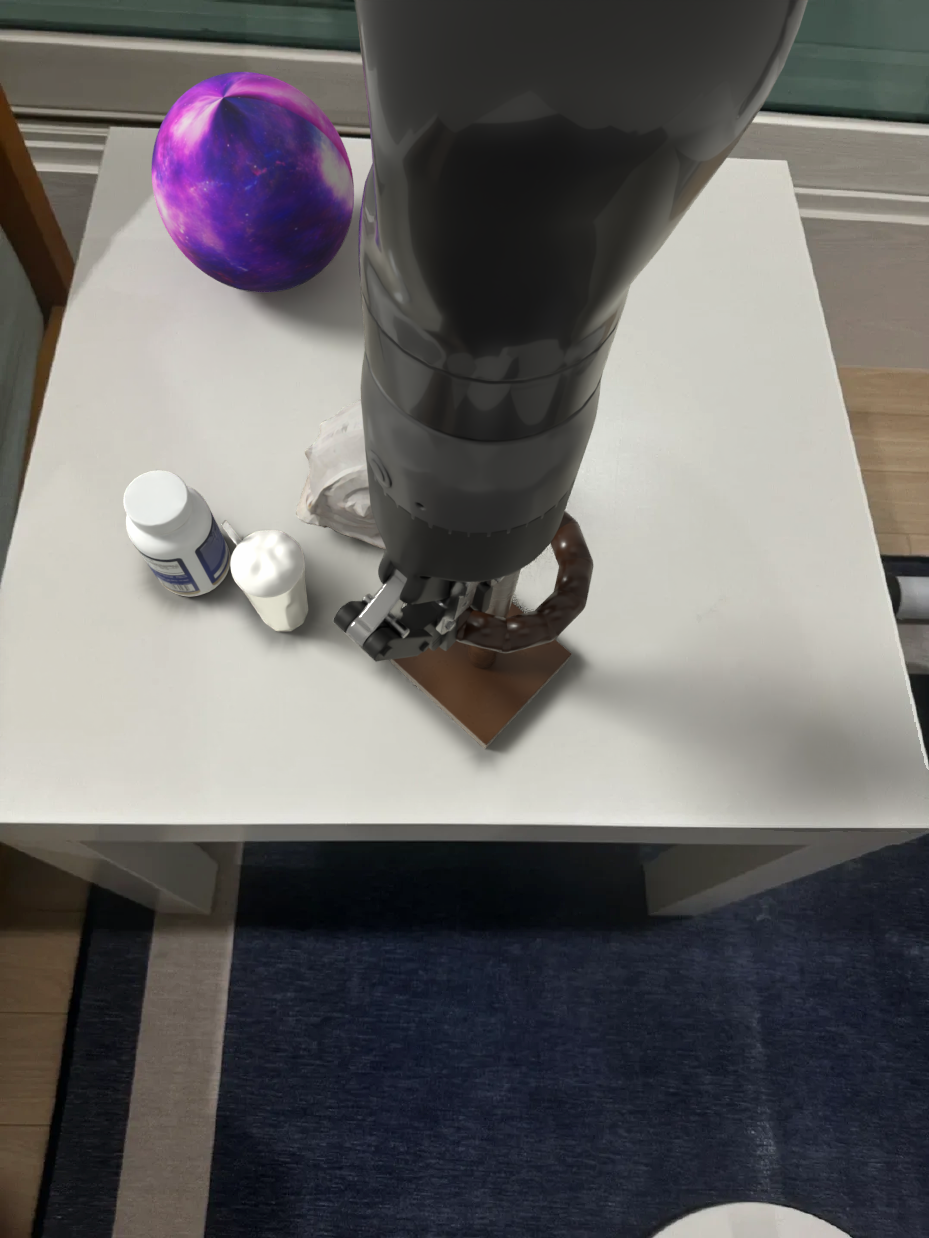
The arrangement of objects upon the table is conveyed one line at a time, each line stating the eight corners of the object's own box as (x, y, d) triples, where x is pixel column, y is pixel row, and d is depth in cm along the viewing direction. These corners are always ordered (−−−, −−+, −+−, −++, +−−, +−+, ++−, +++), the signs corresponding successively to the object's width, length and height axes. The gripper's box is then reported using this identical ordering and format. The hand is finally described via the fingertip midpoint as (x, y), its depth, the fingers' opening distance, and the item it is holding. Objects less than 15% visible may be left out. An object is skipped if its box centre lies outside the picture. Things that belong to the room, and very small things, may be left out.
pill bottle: (210, 518, 63) (176, 445, 54) (244, 575, 62) (216, 509, 53) (142, 553, 62) (96, 484, 53) (176, 611, 60) (134, 550, 51)
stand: (476, 578, 63) (498, 449, 47) (569, 659, 61) (625, 553, 45) (390, 662, 60) (382, 555, 44) (484, 749, 58) (512, 670, 42)
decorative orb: (181, 198, 74) (129, 23, 60) (354, 193, 76) (341, 22, 62) (178, 336, 69) (119, 180, 55) (364, 329, 70) (352, 174, 56)
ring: (494, 464, 49) (498, 446, 47) (622, 573, 47) (631, 558, 45) (373, 570, 46) (373, 556, 44) (505, 692, 44) (509, 681, 42)
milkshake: (272, 564, 62) (247, 495, 53) (330, 605, 61) (315, 542, 52) (230, 610, 61) (197, 548, 51) (289, 653, 60) (266, 597, 50)
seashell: (422, 388, 69) (424, 299, 59) (473, 538, 64) (483, 467, 55) (272, 420, 67) (249, 334, 57) (312, 577, 62) (295, 510, 53)
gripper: (412, 640, 26) (412, 761, 42) (684, 377, 30) (589, 578, 46) (245, 488, 28) (306, 661, 44) (525, 258, 32) (487, 493, 48)
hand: (452, 617), depth 45 cm, fingers closed on ring, 2 cm apart
